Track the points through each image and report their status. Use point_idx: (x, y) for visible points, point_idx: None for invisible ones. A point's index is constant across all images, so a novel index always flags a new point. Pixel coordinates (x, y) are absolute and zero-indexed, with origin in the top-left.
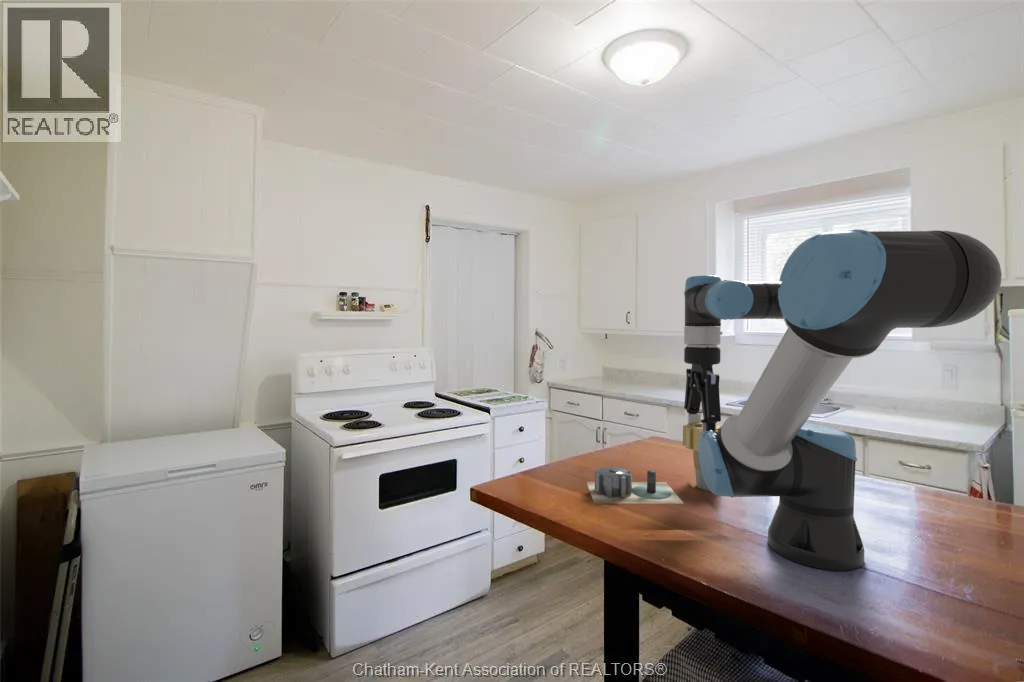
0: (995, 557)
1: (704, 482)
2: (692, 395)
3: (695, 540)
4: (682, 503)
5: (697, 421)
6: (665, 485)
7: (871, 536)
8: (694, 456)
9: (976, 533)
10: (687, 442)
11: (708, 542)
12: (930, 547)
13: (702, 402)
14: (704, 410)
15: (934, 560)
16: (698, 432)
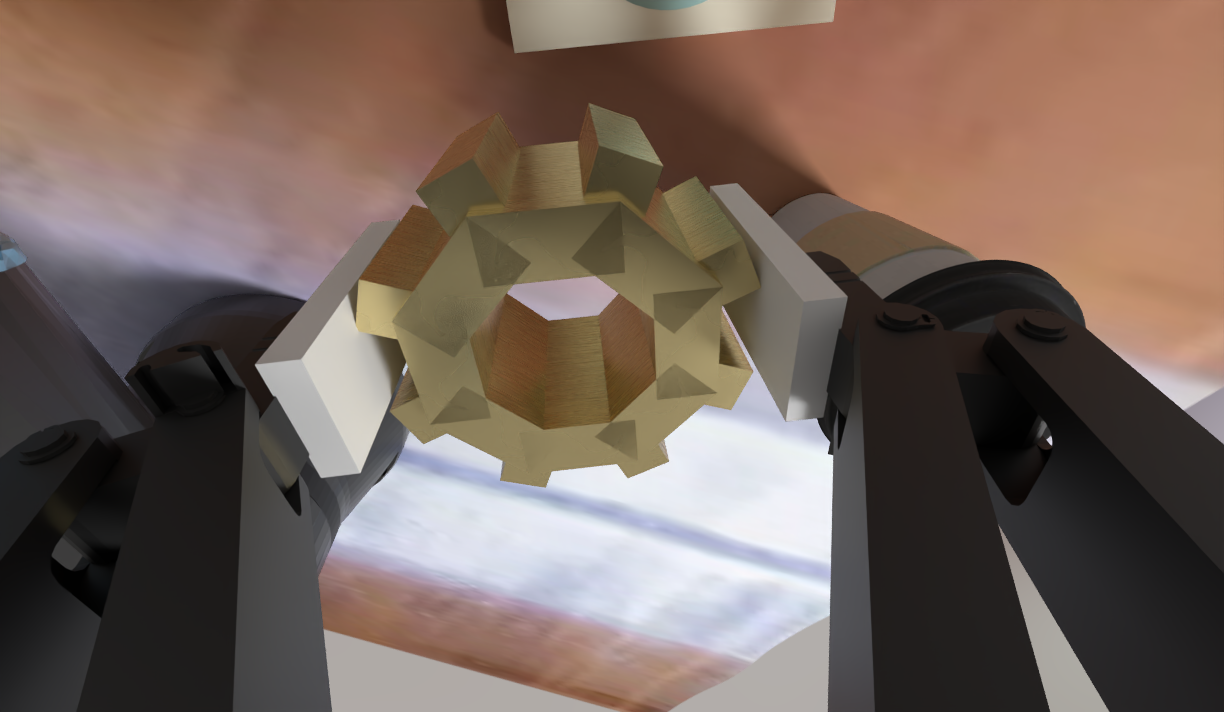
0: (408, 638)
1: (782, 226)
2: (861, 575)
3: (170, 17)
4: (515, 43)
5: (760, 346)
6: (781, 3)
7: (444, 526)
8: (887, 230)
9: (515, 653)
10: (473, 134)
11: (180, 76)
12: (419, 586)
13: (154, 610)
14: (137, 503)
15: (351, 571)
16: (423, 270)
